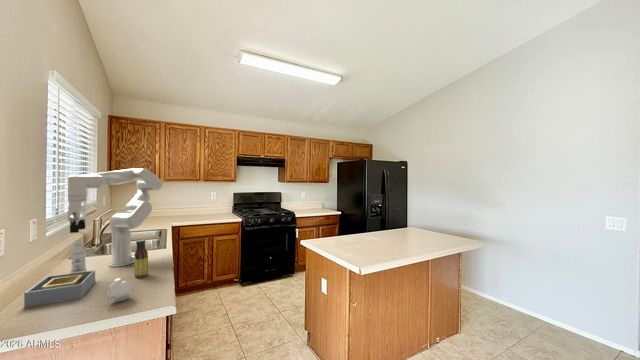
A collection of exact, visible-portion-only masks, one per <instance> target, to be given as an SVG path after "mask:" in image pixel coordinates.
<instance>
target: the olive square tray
mask: <svg viewBox="0 0 640 360" xmlns="http://www.w3.org/2000/svg"><path fill="white" fill-rule="evenodd" d="M82 281H83V274H82V275H75V276H67V277H59V278H53V279H51V280H50V281H49V282H47V283H46V284H45V285H44V286H42V287H41V290H44V289H51V288H58V287H65V286H72V285H79V284H81V282H82Z"/></svg>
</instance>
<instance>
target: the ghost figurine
mask: <svg viewBox="0 0 640 360" xmlns="http://www.w3.org/2000/svg"><path fill="white" fill-rule="evenodd" d="M134 287H135V286H134V284H133V282H131V281H130V280H128V279H127V280H126V279H123V278H122V277H118V278H115V279H114V280H112V282H111V283H110V284H109V285H108V286H107V289H108V290H107V291H106V292H105V295H106V297H109V298H110V299H111V301H113V302H119V303H120V302H124V301H126V300H128V299H129V298H130V297H131V296H132V294H133V293H134V290H135V288H134Z"/></svg>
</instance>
